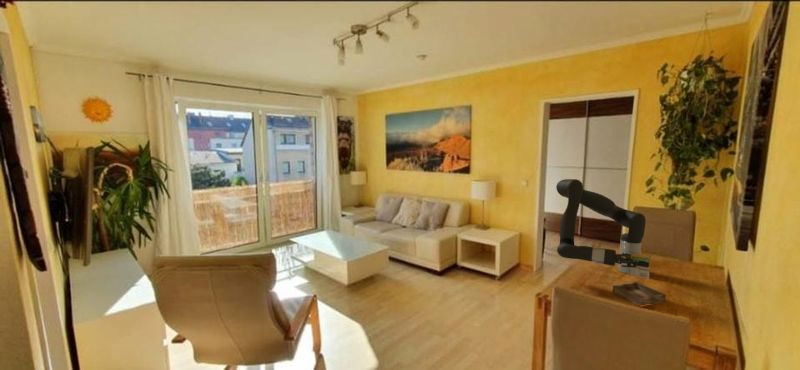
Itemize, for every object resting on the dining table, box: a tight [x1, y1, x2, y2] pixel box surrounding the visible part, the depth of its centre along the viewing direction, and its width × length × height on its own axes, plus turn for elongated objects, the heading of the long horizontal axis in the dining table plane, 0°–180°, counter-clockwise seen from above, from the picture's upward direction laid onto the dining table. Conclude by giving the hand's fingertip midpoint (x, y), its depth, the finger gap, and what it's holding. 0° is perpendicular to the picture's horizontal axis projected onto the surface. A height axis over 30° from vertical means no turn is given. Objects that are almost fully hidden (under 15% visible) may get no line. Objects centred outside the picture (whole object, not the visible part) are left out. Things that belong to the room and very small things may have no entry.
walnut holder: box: [612, 280, 667, 305], centre depth 151 cm, size 14×14×4 cm
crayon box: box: [628, 252, 652, 280], centre depth 149 cm, size 7×3×12 cm, turn 55°
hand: (648, 263), depth 147 cm, fingers closed on crayon box, 3 cm apart
